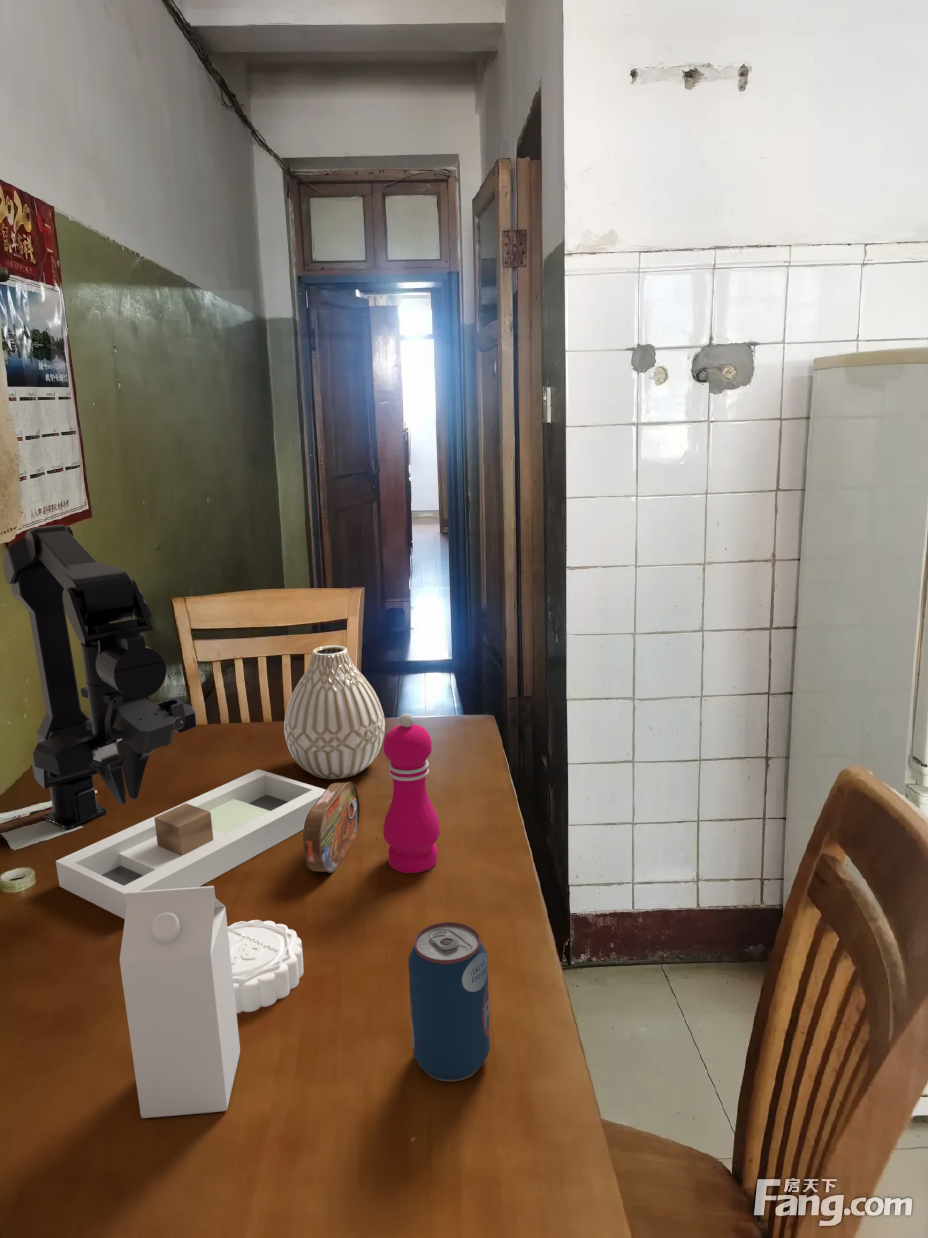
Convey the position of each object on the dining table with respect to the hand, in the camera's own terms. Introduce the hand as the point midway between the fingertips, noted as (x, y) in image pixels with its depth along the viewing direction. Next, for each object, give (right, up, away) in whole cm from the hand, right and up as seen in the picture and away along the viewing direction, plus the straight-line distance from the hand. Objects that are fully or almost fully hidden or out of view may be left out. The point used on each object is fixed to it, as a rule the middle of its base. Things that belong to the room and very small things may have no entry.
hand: (127, 800), depth 110 cm
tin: (+24, -9, +8) cm, 27 cm away
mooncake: (+18, -15, -16) cm, 29 cm away
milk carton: (+17, -19, -31) cm, 40 cm away
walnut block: (+5, -7, +8) cm, 12 cm away
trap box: (+6, -8, +11) cm, 15 cm away
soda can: (+40, -17, -29) cm, 52 cm away
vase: (+21, -2, +36) cm, 41 cm away
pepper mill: (+35, -9, +6) cm, 36 cm away
